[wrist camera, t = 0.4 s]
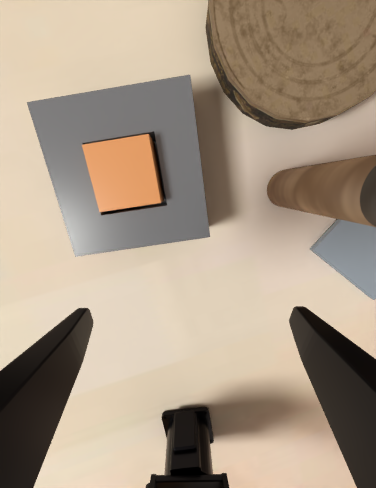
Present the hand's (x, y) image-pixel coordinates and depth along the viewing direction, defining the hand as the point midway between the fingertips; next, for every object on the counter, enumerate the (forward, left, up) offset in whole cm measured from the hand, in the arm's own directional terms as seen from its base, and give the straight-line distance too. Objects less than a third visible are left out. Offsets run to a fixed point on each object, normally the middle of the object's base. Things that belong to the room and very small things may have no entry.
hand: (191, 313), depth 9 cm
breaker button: (+7, +4, -11) cm, 14 cm away
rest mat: (-3, -20, -13) cm, 24 cm away
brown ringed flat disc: (+17, -12, -14) cm, 25 cm away
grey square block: (+7, +4, -13) cm, 16 cm away
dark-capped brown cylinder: (+4, -10, -13) cm, 17 cm away
